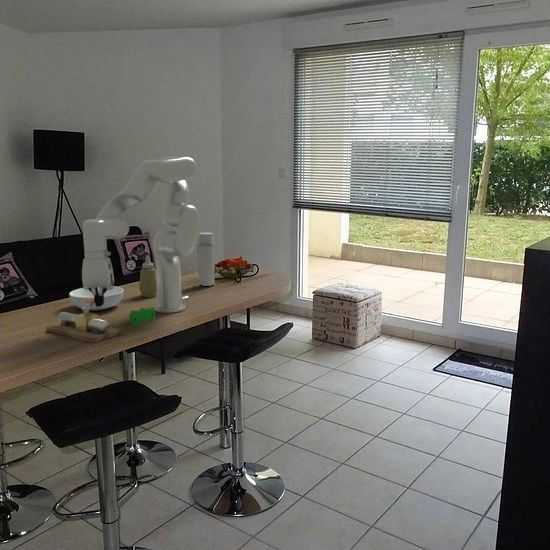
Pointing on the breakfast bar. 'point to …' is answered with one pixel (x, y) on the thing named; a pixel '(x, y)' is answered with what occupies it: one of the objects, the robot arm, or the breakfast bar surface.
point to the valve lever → (87, 305)
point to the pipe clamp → (142, 316)
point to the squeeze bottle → (148, 279)
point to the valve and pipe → (84, 322)
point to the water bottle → (205, 259)
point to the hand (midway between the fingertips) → (99, 305)
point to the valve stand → (82, 335)
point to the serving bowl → (81, 296)
